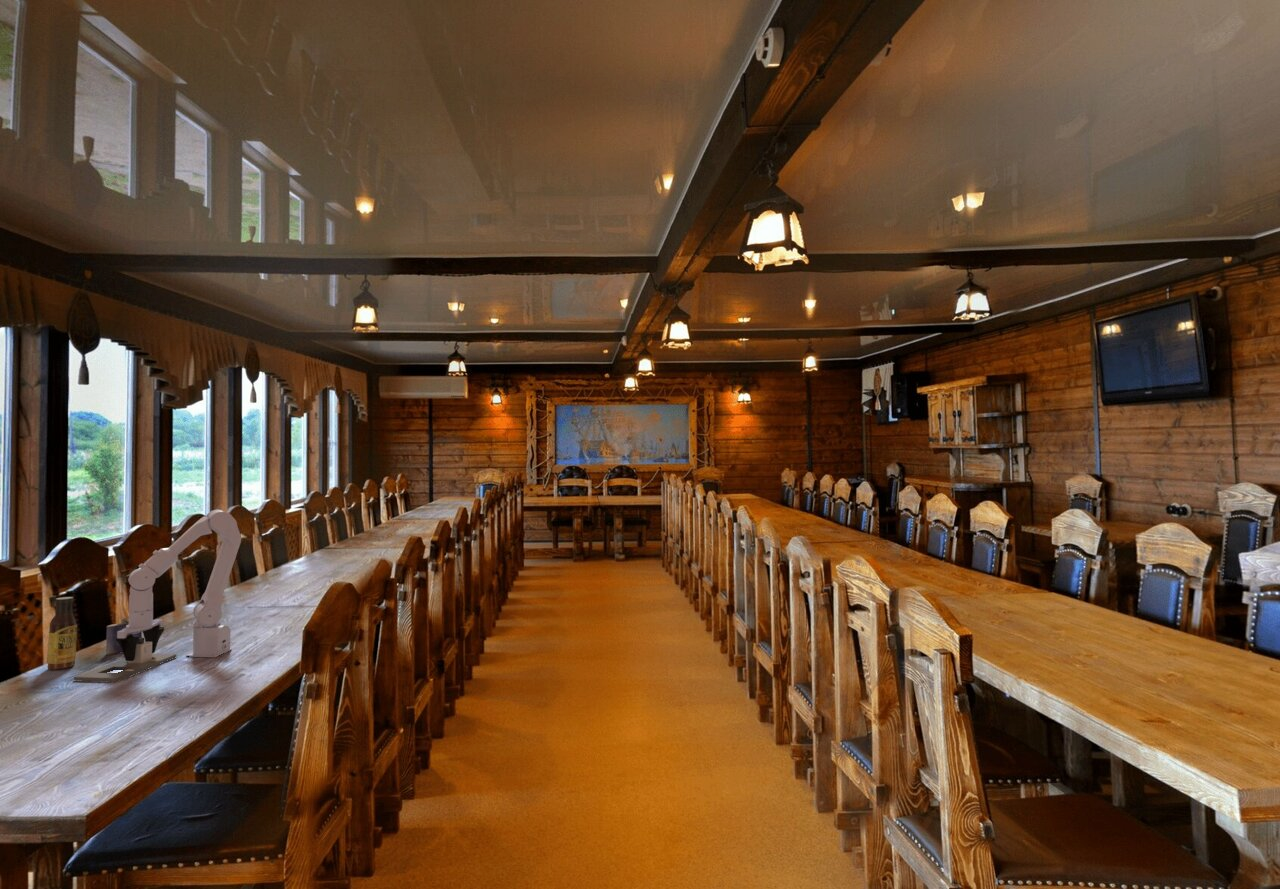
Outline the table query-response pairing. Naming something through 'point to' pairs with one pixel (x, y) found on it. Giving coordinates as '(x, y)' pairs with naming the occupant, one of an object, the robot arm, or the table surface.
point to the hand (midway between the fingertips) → (140, 656)
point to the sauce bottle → (62, 636)
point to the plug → (142, 651)
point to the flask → (112, 631)
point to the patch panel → (122, 664)
